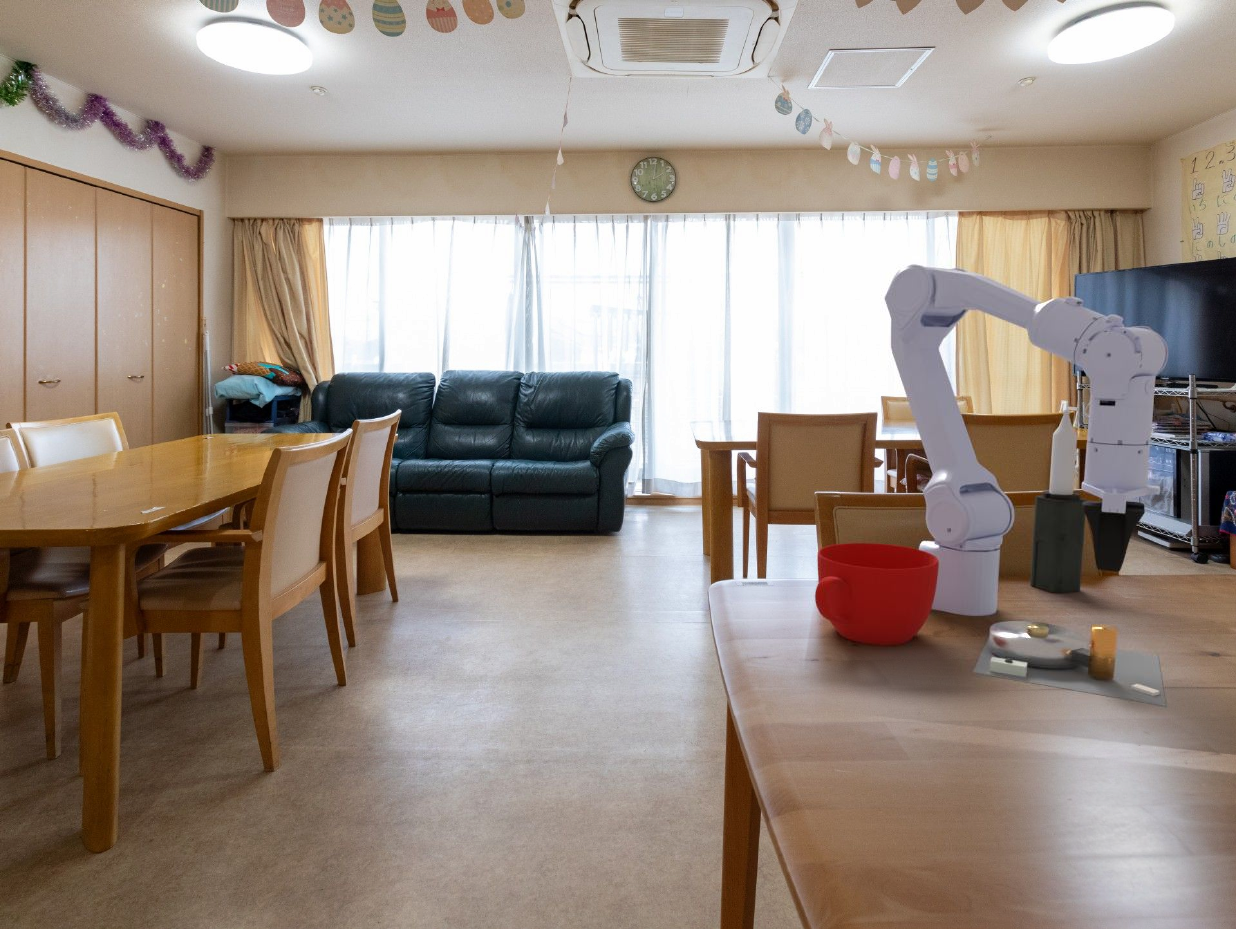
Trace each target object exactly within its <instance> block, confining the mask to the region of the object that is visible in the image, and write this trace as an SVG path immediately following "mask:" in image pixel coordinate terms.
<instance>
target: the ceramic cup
mask: <svg viewBox="0 0 1236 929" xmlns="http://www.w3.org/2000/svg"><path fill="white" fill-rule="evenodd" d="M816 561H817V579H818V584H817V585H816V588H815V593H814V603H815V605H816V608H817V610H818V612H819V614H820V615H821V616H822V617H823V618H824V619H826V620H827V621H829V622H830V624H831V625H832V626H833V628H834V629H835V630H836V631H837V633H838V634H839V635H840V636H842V637H843V638H846V639H847V640H850V641H853V642H857V643H862V644H866V645H875V646H876V645H877V646H895V645H901V644H905V643H907V642H908V643H909V641H910V640H912V639H913V638H914V636H916V635H917V634H918V632H919V631H920V630H921V629H922V628H923V626H924V625H925V623H926V621H927V620H928V618H929V615H930V613H931V611H932V609H931V608H932V605H933V601H934V597H935V592H936V585H937V578H938V568H939V560H938V559H937V557H936V556H934V555H932V554H930V553H928V552H925V551H922V550H919V548H918V549H917V548H913V547H909V546H902V545H895V544H888V543H887V544H886V543H877V542H876V543H873V542H852V543H851V542H850V543H849V542H847V543H837V544H830V545H827V546H823V547H822V548H819V550H817V560H816Z"/></svg>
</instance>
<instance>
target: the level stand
mask: <svg viewBox="0 0 1236 929" xmlns="http://www.w3.org/2000/svg"><path fill="white" fill-rule="evenodd" d="M989 636H990V634H989V635H988V638H987V639H986V642H985V644H984V647H983V649H982V651H981V653H980V655H979V657H978V659H977V661H976V663H975V667H974V668H973V670H972V673H973V674H977V675H983V676H989V677H994V678H999V679H1005V680H1012V681H1018V682H1023V683H1029V684H1035V685H1041V686H1045V687H1046V686H1047V687H1051V688H1057V689H1063V690H1067V691H1068V690H1069V691H1074V692H1075V691H1076V692H1080V693H1086V694H1092V695H1098V696H1103V697H1109V698H1114V699H1120V700H1121V699H1122V700H1126V701H1131V702H1138V703H1143V704H1149V705H1154V706H1161V707H1167V704H1166V703H1167V702H1166V697H1165V691H1164V685H1163V678H1162V677H1163V676H1162V671H1161V665H1160V660H1159V655H1157V654H1150V653H1143V652H1137V651H1131V650H1124V649H1117V648H1116V658H1115V671H1114V678H1113V679H1100V678H1096V677H1093V676H1090V675H1089V674H1088V667H1085V666H1082V665H1080V666H1077V667H1072V668H1043V667H1035V666H1029V665H1027V663H1026V662H1020V661H1014V660H1011V659H1010V658H1007V659H1004V658H1001V657H999V656H997V655H996V654H994V653H993V652H992V651H991V650H990V649H989ZM1086 649H1088V650H1090V644H1086Z"/></svg>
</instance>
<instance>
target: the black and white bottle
mask: <svg viewBox="0 0 1236 929" xmlns="http://www.w3.org/2000/svg"><path fill="white" fill-rule="evenodd" d="M1062 414H1063V416H1062V418H1061V420H1060V423H1059V426H1058V427H1057V428H1056V429H1055V431H1054V432H1053V433H1052V446H1051V458H1050V459H1051V461H1050V472H1049V474H1050V476H1049V490H1043V491H1042V493H1041V494H1042V495H1036V496H1035V501H1034V502H1035V503H1034V519H1033V532H1032V533H1033V534H1032V552H1031V564H1030V579H1029V580H1030V581H1029V583H1030V584H1029V585H1030V586H1031V587H1034V588H1037V589H1041V590H1043V591H1046V592H1049V593H1054V594H1063V593H1064V594H1065V593H1075V592H1080V591H1081V583H1082V582H1081V581H1082V568H1083V557H1084V556H1083V555H1084V554H1083V553H1084V543H1085V542H1084V538H1085V523H1086V515H1085V513H1084V510H1083V508H1082V507H1083V502H1084V501H1087V499H1085V498H1083V497H1081V494H1080V493H1078V492H1074V488H1075V487H1074V486H1075V470H1076V459H1077V458H1076V456H1077V442H1078V434H1077V432H1076V430H1075V429H1074V427H1073V425H1072V422H1071V421H1072V420H1071V418H1070V414H1071V411H1070V410H1069V409H1067V408H1065V409H1063V411H1062Z"/></svg>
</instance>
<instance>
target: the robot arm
mask: <svg viewBox="0 0 1236 929" xmlns="http://www.w3.org/2000/svg"><path fill="white" fill-rule="evenodd" d="M884 302H885V305H886V307H887V309H888V313H889V315H890V349H891V353H892V356H893V359H894V361H895V365H896V368H897V371H898V375H899V378H900V381H901V383H902V386H903V388H904V392H905V396H906V398H907V401H908V403H909V404H908V405H909V408H910V411H911V414H912V416H913V420H914V422H915V425H916V428H917V432H918V434H919V437H920V440H921V443H922V446H923V449H924V453H925V456H926V459H927V461H928V464H929V468H930V470H931V473H932V476H931V478H930V479H929V482H928V483H926V484H927V485H926V486H925V487H924V489H923V492H922V493H923V496H924V500H925V506H926V508H925V509H926V510H925V521H926V522H925V524H926V527H927V529H928V532H929V533H930V535H931V536H932V537H933V539H934V541H932V540H923V541H921V543H919V547H918V550H922V551H925V552H928V553H930V554H932V555H934V556H936V557H937V559H938V560H939V568H938V578H937V585H936V592H935V597H934V601H933V605H932V608H931V610H935V611H942V612H945V613H950V614H955V615H960V616H961V615H962V616H971V617H974V616H975V617H976V616H977V617H981V616H991V615H994V614H996V613H997V608H998V606H997V605H998V594H999V592H998V591H999V590H998V588H999V576H1000V575H999V574H1000V572H999V571H1000V557H1001V545H1002V544H1003V536H1004V535H1006V534H1007V533H1009V531H1010V530H1011V528H1012V527H1013V525H1014V522H1015V508H1014V504H1013V502H1012V501H1011V499H1010V498H1009V497H1008V495H1007V494H1005V492H1003V490H1002V489H1001V486H1000V485H999V483H998V481H997V478H996V476H995V475H994V474H993V473H992V472H990V471H989V470H988V469H987V468H985V467H984V466H983V465H981V464H980V463H979V461H978V459H977V456H976V453H975V450H974V448H973V445H972V441H971V438H970V435H969V433H968V430H967V427H966V424H965V421H964V418H963V416H962V412H961V410H960V407H959V404H958V401H957V398H956V395H955V392H954V389H953V386H952V383H951V381H950V378H949V376H948V372H947V370H946V366H945V364H944V361H943V358H942V354H941V352H940V346H941V345H942V342H943V341H944V339H946V337H947V336H948V335H949V334H950V332H952V330H954V328H956V326H957V325H958V323H960V322H961V320H962V319H963V318H964V317H965V316H966V314H967V313H968V312H969V311H980V312H982V313H985V314H987V315H989V316H992V317H995V318H997V319H1000V320H1001V321H1004V322H1008V323H1011V324H1012V325H1015V326H1018V327H1019V328H1023V329H1026V331H1027V336H1028V340H1029V341H1030V343H1031V344H1032V345H1033V346H1035V347H1037V348H1039V349H1041V350H1043V351H1045V352H1047V353H1050V354H1052V355H1055V357H1059V358H1061V359H1063V360H1065V361H1067V362H1070V363H1071V364H1073V365H1076V366H1077V367H1080V368H1082V370H1083V372H1084V373H1085V375H1086V376H1087V378H1088V379H1089V393H1090V396H1089V407H1088V410H1089V412H1088V422H1087V423H1088V424H1087V428H1088V429H1087V437H1086V440H1087V441H1086V450H1085V451H1086V452H1085V464H1084V477H1083V478H1084V479H1083V481H1082V482H1081V490H1082V492H1083V491H1084V492H1085V493H1088V494H1091V495H1093V496H1095V497H1098V498H1100V499H1101V501H1095V500H1086V501H1084V502H1083V507H1082V508H1083V510H1084V513H1085V518H1086V519H1087V521H1088V524H1089V528H1090V531H1091V536H1092V541H1093V542H1092V543H1093V544H1092V545H1093V553H1094V559H1095V566H1096V568H1097V570H1099V571H1107V572H1116V573H1117V572H1118V573H1119V572H1120V571H1121V569H1122V567H1123V564H1124V562H1125V558H1126V554H1127V550H1128V548H1129V543H1130V540H1131V538H1132V534H1133V533H1134V531H1135V529H1136V527H1137V525H1138V523H1139V522H1140V521H1141V519H1142V518H1143V517H1144V514H1146V511H1145V510H1146V509H1145V506H1146V505H1145V504H1144V502H1139V501H1130V500H1132V499H1135V498H1140V497H1143V496H1147V495H1160V494H1161V487H1160V486H1159V485H1150V484H1148V476H1149V463H1150V449H1151V441H1152V439H1151V438H1152V427H1153V414H1154V402H1155V400H1154V398H1155V389H1156V388H1155V386H1156V377H1157V376H1158V375H1159V374H1161V373H1162V371H1163V370H1164V368H1166V365H1167V363H1168V361H1169V360H1168V359H1169V348H1168V345H1167V342H1166V341H1165V339H1164V337H1162V336H1161V335H1160V334H1159V332H1157V331H1154V330H1153V329H1152V328H1151V327H1150V326H1146V325H1145V326H1144V325H1139V326H1138V325H1137V326H1131V327H1130V326H1129V327H1125V325H1124V323H1123V321H1124V318H1123V317H1122V316H1120V315H1117V314H1109V315H1108V316H1107V315H1104V314H1101V313H1100V312H1097V311H1094V310H1092V309H1090V308H1087V307H1084V306H1083V305H1084V300H1083V299H1081V298H1079V297H1077V296H1069V295H1068V296H1066V297H1065V298H1062V297H1055V298H1052V299H1050V300H1048V301H1045V302H1041V301H1039V300H1037V299H1035V298H1033V297H1030V296H1029V295H1026V294H1024V293H1022V292H1020V291H1018V290H1016V289H1014V288H1011V287H1010V286H1007V285H1005V284H1003V283H1001V282H998V281H997V280H995V279H994V278H993V279H992V278H990V277H988V276H986V275H984V274H980V273H977V272H971V271H967V270H965V269H963V268H959V267H956V268H954V267H953V268H942V267H932V266H923V265H920V264H918V263H917V264H916V263H912V264H908V265H905V266H903V267H901V268H900V269H899V270H898V271H897V272H896V273H895V275H894V276H893V278H892V280H891V283H890V284H889V287H888V290H887V292H886V294H885V296H884Z"/></svg>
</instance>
